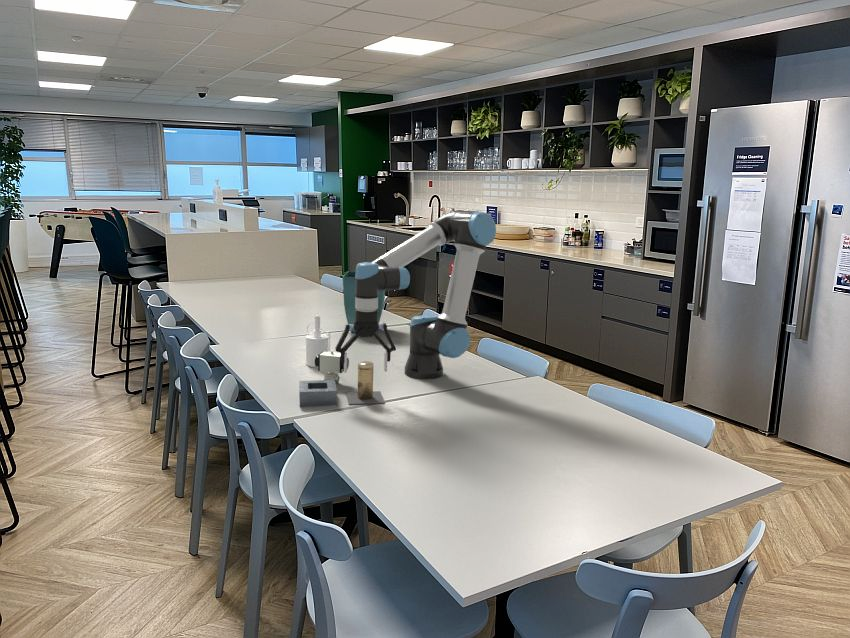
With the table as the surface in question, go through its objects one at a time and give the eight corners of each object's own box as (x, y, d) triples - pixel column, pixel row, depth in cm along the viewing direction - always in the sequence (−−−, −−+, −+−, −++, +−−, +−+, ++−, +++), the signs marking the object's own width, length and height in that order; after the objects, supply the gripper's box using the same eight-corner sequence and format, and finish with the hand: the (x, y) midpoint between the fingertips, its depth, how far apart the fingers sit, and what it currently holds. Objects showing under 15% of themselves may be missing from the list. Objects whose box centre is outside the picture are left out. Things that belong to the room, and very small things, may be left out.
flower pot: (382, 335, 307) (383, 277, 301) (341, 333, 307) (342, 276, 301) (385, 326, 327) (387, 272, 321) (347, 325, 327) (347, 270, 321)
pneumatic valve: (344, 386, 228) (345, 354, 226) (314, 383, 231) (314, 351, 228) (349, 381, 234) (350, 350, 231) (319, 378, 236) (319, 347, 234)
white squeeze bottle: (313, 368, 249) (313, 318, 244) (301, 363, 255) (300, 314, 251) (335, 364, 255) (336, 316, 251) (323, 359, 262) (323, 312, 258)
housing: (334, 393, 220) (334, 379, 219) (336, 405, 208) (336, 390, 207) (299, 394, 217) (299, 380, 216) (299, 406, 206) (299, 392, 205)
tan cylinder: (371, 394, 219) (372, 361, 217) (373, 399, 214) (374, 365, 212) (356, 395, 218) (357, 361, 215) (358, 400, 213) (358, 365, 211)
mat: (380, 392, 223) (380, 391, 223) (384, 403, 212) (384, 402, 211) (346, 393, 221) (346, 392, 221) (348, 404, 209) (348, 403, 209)
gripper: (401, 307, 216) (399, 367, 220) (327, 307, 211) (327, 368, 215) (405, 311, 209) (403, 373, 213) (329, 312, 204) (328, 375, 208)
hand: (365, 371), depth 214 cm, fingers open, 13 cm apart
